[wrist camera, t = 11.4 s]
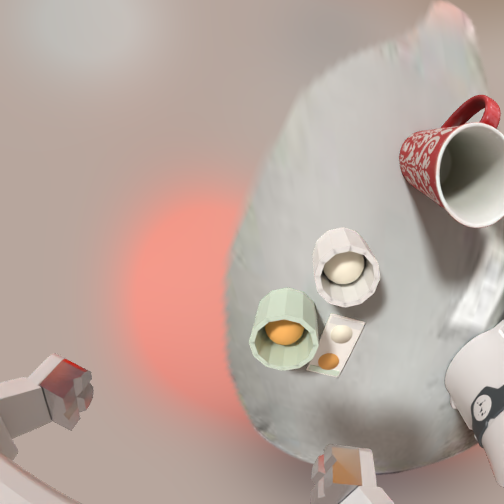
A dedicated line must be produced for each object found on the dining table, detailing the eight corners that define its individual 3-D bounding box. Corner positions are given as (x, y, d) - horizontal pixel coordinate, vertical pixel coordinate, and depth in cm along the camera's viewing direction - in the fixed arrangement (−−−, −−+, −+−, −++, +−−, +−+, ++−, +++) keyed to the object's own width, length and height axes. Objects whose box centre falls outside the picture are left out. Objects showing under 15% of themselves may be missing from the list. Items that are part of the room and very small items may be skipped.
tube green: (324, 297, 41) (327, 325, 35) (305, 344, 44) (304, 376, 38) (265, 281, 41) (259, 307, 35) (251, 330, 44) (243, 360, 38)
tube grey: (375, 237, 38) (388, 256, 31) (356, 286, 40) (365, 313, 34) (322, 221, 38) (327, 237, 32) (306, 272, 40) (306, 297, 34)
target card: (364, 321, 41) (365, 323, 41) (337, 375, 45) (338, 377, 44) (330, 312, 42) (331, 315, 41) (306, 368, 45) (306, 370, 45)
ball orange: (310, 305, 42) (308, 325, 37) (298, 335, 43) (295, 357, 39) (273, 294, 42) (267, 313, 37) (264, 325, 44) (257, 345, 39)
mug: (438, 211, 35) (492, 246, 23) (379, 176, 35) (418, 196, 22) (477, 125, 31) (542, 127, 18) (420, 85, 31) (473, 65, 18)
